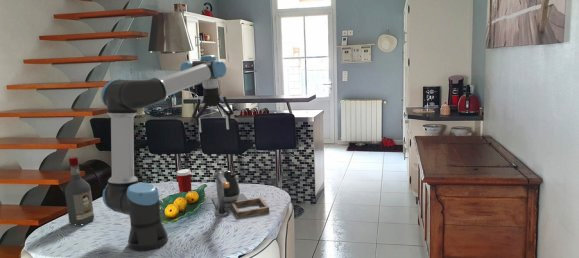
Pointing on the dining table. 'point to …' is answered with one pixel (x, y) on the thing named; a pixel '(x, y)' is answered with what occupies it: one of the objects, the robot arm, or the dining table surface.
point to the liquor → (78, 197)
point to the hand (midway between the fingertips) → (214, 130)
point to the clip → (221, 178)
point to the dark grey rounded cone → (231, 187)
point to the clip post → (220, 200)
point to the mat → (228, 204)
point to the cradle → (252, 211)
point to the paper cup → (184, 180)
